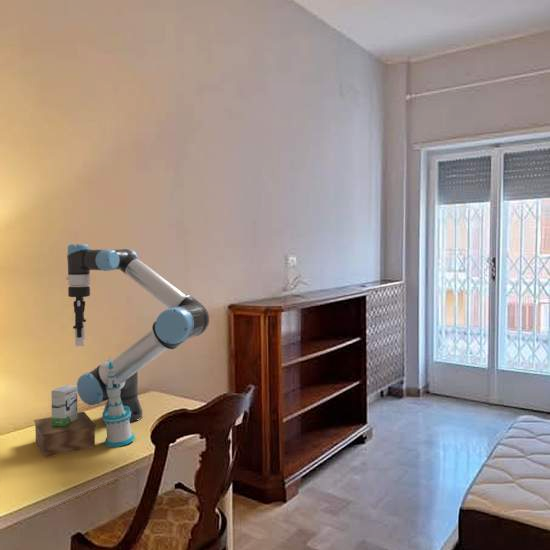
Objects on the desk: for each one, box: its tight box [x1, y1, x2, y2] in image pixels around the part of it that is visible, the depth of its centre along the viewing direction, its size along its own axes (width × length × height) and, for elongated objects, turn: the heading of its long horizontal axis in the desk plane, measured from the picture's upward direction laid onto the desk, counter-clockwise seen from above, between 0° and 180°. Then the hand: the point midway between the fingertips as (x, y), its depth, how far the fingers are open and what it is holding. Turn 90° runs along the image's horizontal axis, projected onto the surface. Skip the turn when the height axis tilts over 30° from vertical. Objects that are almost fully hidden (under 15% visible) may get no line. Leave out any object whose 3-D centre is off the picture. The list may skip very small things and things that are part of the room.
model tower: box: [101, 356, 136, 448], centre depth 177 cm, size 10×10×30 cm
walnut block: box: [33, 411, 97, 459], centre depth 176 cm, size 17×17×8 cm
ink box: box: [51, 384, 78, 426], centre depth 175 cm, size 9×5×12 cm, turn 171°
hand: (80, 342), depth 192 cm, fingers open, 13 cm apart
